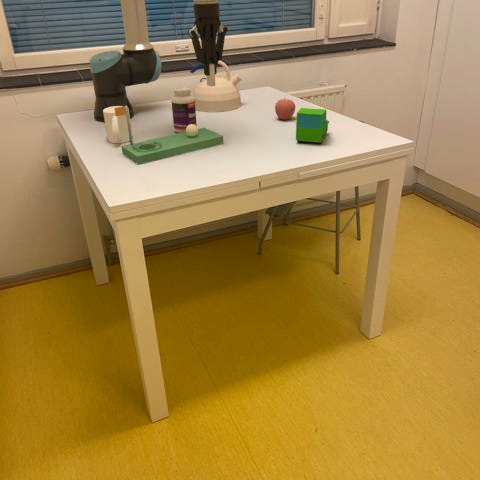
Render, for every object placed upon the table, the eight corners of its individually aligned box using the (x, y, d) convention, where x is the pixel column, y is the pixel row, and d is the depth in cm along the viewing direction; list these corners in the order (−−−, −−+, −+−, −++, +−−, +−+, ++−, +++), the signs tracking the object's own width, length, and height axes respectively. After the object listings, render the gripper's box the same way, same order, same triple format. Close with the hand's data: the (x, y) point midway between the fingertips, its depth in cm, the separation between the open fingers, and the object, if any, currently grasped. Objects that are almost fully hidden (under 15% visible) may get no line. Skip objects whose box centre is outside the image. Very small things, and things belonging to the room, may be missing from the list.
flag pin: (120, 146, 147) (114, 107, 141) (132, 144, 149) (126, 105, 143) (121, 147, 147) (115, 108, 141) (133, 144, 149) (127, 106, 143)
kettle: (242, 112, 188) (240, 64, 179) (189, 113, 188) (185, 65, 179) (242, 99, 205) (241, 54, 196) (194, 100, 206) (191, 56, 197)
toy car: (331, 133, 161) (333, 104, 156) (324, 146, 151) (326, 114, 146) (301, 131, 164) (302, 102, 159) (292, 143, 154) (293, 112, 149)
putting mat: (122, 153, 149) (121, 145, 148) (204, 134, 164) (204, 127, 162) (138, 164, 141) (137, 156, 139) (223, 143, 155) (223, 136, 154)
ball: (184, 136, 155) (182, 124, 153) (194, 133, 157) (193, 121, 155) (190, 139, 152) (189, 126, 150) (200, 136, 154) (200, 124, 152)
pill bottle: (193, 134, 164) (190, 92, 157) (171, 134, 165) (166, 91, 158) (199, 127, 171) (196, 86, 163) (178, 127, 172) (174, 86, 165)
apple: (272, 121, 176) (272, 99, 172) (278, 115, 181) (278, 94, 177) (291, 122, 173) (292, 100, 169) (297, 117, 179) (297, 95, 175)
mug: (129, 105, 160) (126, 114, 150) (133, 135, 165) (130, 146, 155) (104, 106, 159) (99, 116, 149) (109, 136, 165) (104, 148, 154)
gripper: (193, 4, 133) (199, 90, 145) (232, 1, 139) (234, 84, 151) (180, 3, 138) (187, 86, 150) (218, 0, 144) (222, 80, 156)
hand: (211, 85), depth 150 cm, fingers closed
